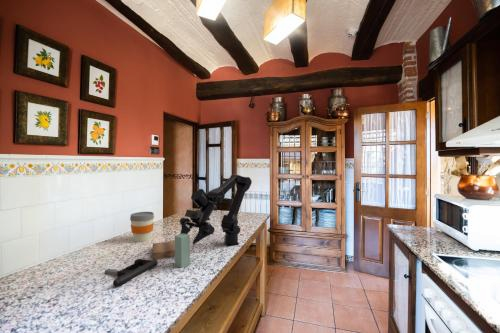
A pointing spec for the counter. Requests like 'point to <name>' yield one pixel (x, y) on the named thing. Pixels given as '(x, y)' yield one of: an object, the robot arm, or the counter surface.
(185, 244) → the green post
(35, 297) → the counter surface
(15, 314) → the counter surface
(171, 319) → the counter surface
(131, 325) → the counter surface
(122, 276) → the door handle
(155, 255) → the walnut base
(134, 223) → the reusable coffee cup
